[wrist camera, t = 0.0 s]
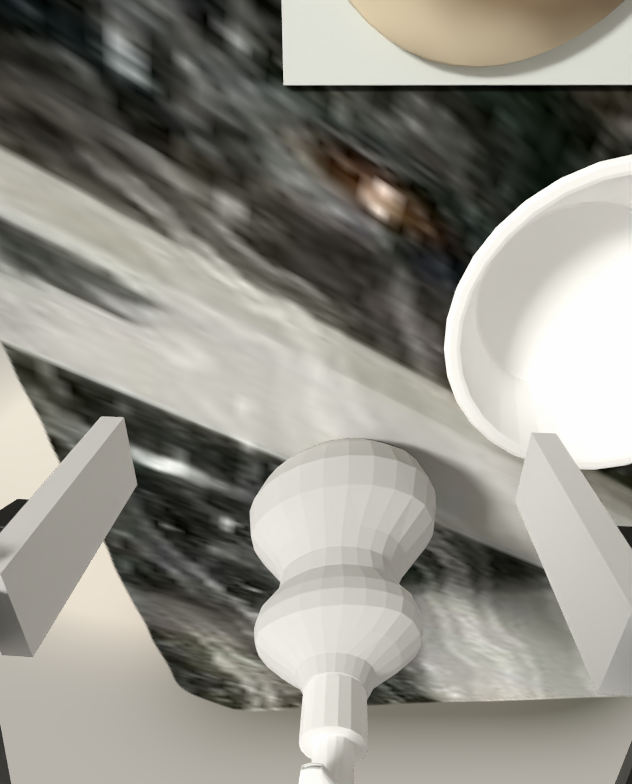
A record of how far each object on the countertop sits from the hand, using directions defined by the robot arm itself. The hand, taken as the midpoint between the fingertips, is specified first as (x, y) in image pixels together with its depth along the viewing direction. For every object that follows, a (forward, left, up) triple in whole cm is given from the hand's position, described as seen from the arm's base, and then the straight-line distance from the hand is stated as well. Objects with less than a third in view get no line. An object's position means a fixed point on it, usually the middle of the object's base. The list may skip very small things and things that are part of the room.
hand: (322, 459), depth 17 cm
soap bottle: (+21, +1, -28) cm, 35 cm away
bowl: (+3, +19, -28) cm, 34 cm away
